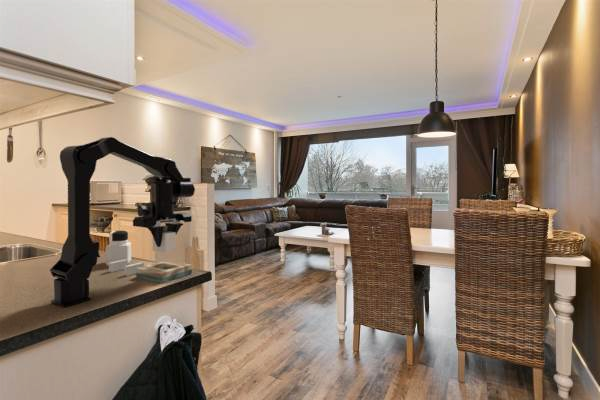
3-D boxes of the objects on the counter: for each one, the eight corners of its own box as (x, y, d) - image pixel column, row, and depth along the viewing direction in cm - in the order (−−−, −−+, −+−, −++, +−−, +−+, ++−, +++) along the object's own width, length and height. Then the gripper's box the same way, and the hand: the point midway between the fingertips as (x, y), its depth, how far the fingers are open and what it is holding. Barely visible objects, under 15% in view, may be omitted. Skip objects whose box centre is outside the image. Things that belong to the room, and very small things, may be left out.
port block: (162, 283, 98) (162, 273, 98) (136, 277, 104) (136, 268, 104) (191, 273, 109) (191, 264, 109) (166, 268, 115) (166, 260, 114)
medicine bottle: (131, 260, 126) (131, 229, 125) (127, 264, 119) (127, 232, 118) (110, 261, 124) (110, 229, 123) (105, 265, 117) (105, 232, 116)
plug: (165, 252, 103) (165, 227, 102) (152, 250, 106) (152, 226, 105) (175, 250, 106) (175, 226, 106) (162, 248, 109) (162, 224, 109)
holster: (127, 275, 105) (127, 266, 105) (108, 271, 110) (108, 262, 109) (143, 271, 110) (143, 262, 110) (125, 267, 115) (125, 259, 115)
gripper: (170, 196, 117) (170, 239, 118) (121, 198, 100) (121, 247, 101) (192, 197, 112) (192, 242, 113) (145, 199, 95) (145, 252, 96)
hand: (164, 245), depth 106 cm, fingers closed on plug, 4 cm apart
